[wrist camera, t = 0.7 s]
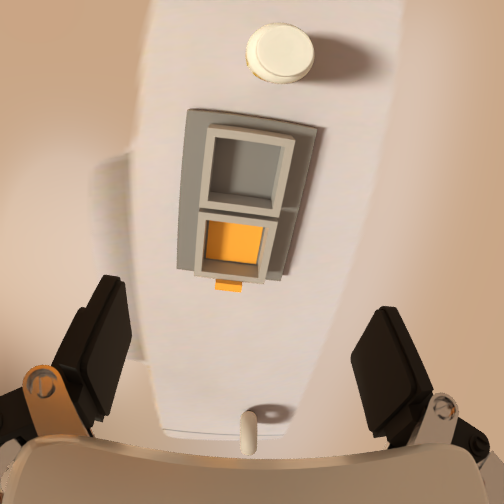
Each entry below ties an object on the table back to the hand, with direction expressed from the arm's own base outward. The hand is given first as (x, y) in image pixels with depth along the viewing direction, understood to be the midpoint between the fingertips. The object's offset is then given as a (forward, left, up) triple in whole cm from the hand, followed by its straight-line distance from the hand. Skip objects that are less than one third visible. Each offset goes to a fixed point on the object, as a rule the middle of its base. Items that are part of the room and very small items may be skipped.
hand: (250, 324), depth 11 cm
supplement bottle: (-10, +1, -24) cm, 27 cm away
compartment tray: (+6, 0, -24) cm, 25 cm away
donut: (+53, +8, -24) cm, 58 cm away
